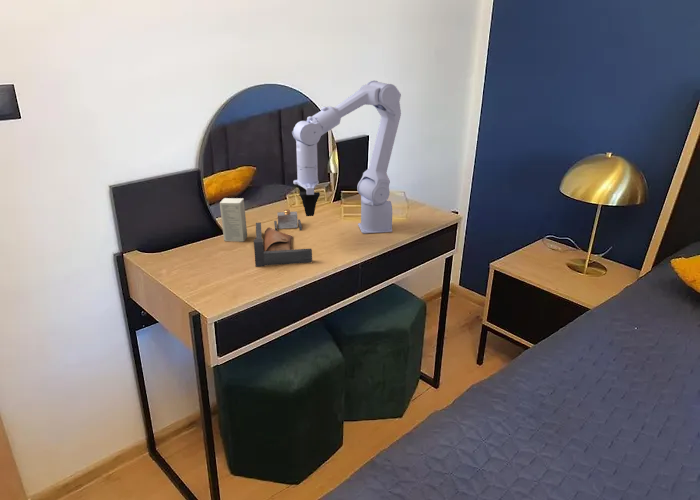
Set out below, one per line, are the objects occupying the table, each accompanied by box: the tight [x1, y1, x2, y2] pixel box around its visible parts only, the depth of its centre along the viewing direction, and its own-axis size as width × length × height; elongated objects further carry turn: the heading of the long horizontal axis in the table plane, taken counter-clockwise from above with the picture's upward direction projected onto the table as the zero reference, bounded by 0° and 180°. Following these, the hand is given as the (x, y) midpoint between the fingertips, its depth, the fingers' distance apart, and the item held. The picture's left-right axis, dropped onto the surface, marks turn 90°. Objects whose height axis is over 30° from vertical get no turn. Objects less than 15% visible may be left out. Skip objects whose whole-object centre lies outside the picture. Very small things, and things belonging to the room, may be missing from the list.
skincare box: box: [219, 197, 248, 242], centre depth 167 cm, size 6×4×12 cm
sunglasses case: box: [263, 227, 293, 251], centre depth 163 cm, size 18×7×7 cm
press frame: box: [253, 219, 313, 268], centre depth 165 cm, size 15×31×7 cm, turn 9°
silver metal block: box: [277, 209, 299, 230], centre depth 177 cm, size 6×3×5 cm, turn 99°
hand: (308, 211), depth 164 cm, fingers open, 7 cm apart
